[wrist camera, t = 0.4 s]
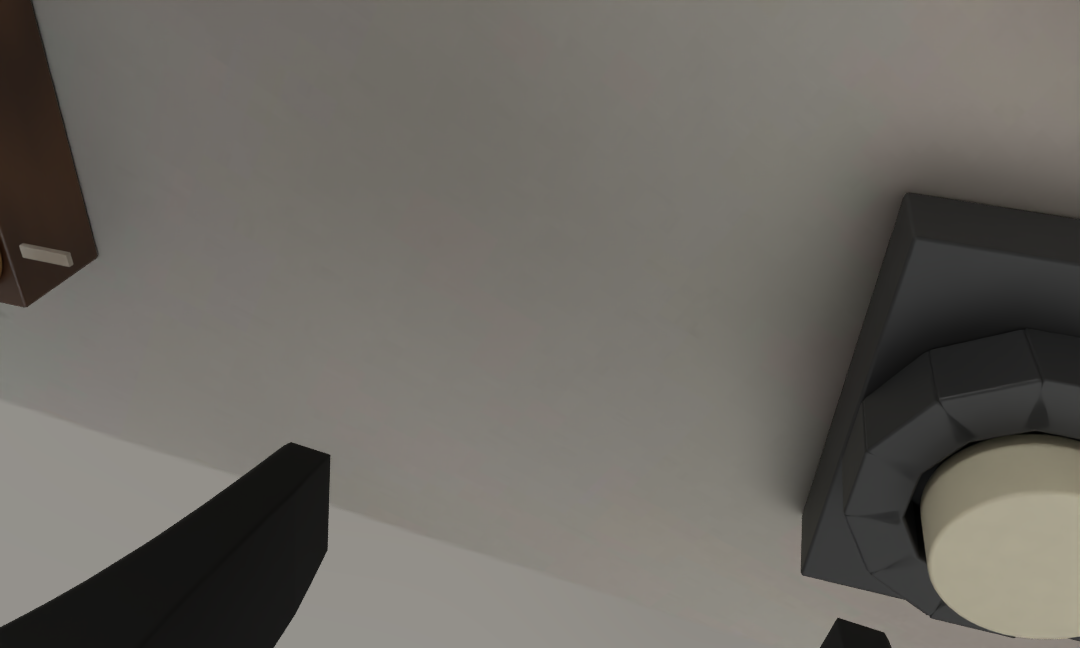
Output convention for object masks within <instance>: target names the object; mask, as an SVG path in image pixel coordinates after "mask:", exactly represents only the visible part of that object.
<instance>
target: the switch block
mask: <svg viewBox="0 0 1080 648" xmlns="http://www.w3.org/2000/svg"><path fill="white" fill-rule="evenodd" d="M1030 433H1034V434H1049V435H1055V436H1062V437H1066V438H1070V439H1074V440H1077V441H1080V219H1074V218H1067V217H1061V216H1055V215H1048V214H1042V213H1035V212H1029V211H1022V210H1016V209H1010V208H1003V207H997V206H990V205H984V204H977V203H971V202H964V201H958V200H952V199H945V198H939V197H932V196H926V195H919V194H913V193H906V194H905V195H904V197H903V201H902V204H901V207H900V210H899V213H898V216H897V219H896V223H895V226H894V229H893V232H892V235H891V238H890V241H889V245H888V248H887V251H886V254H885V257H884V260H883V263H882V267H881V270H880V273H879V276H878V279H877V282H876V285H875V289H874V292H873V295H872V298H871V301H870V304H869V307H868V311H867V314H866V317H865V320H864V323H863V326H862V329H861V333H860V336H859V339H858V342H857V345H856V348H855V352H854V355H853V358H852V361H851V364H850V367H849V370H848V374H847V377H846V380H845V383H844V386H843V389H842V392H841V396H840V399H839V402H838V405H837V408H836V411H835V414H834V418H833V421H832V424H831V427H830V430H829V433H828V436H827V440H826V443H825V446H824V449H823V452H822V455H821V458H820V462H819V465H818V468H817V471H816V474H815V477H814V480H813V484H812V487H811V490H810V493H809V496H808V499H807V502H806V506H805V509H804V512H803V515H802V544H801V574H802V575H803V576H807V577H812V578H816V579H820V580H824V581H828V582H833V583H837V584H841V585H845V586H850V587H854V588H858V589H862V590H866V591H871V592H875V593H879V594H883V595H887V596H892V597H896V598H900V599H904V600H906V601H908V602H909V603H911V604H912V605H913V606H915V607H916V608H918V609H919V610H921V611H922V612H923V613H925V614H926V615H930V618H932V619H936V620H941V621H945V622H949V623H953V624H957V625H961V626H966V627H970V628H974V629H978V630H982V631H986V632H990V633H995V634H999V635H1003V636H1007V637H1011V638H1015V637H1014V636H1009V635H1004V634H1001V633H997V632H994V631H991V630H988V629H985V628H983V627H980V626H978V625H976V624H974V623H972V622H970V621H968V620H966V619H965V618H963V617H962V616H960V615H959V614H957V613H956V612H955V611H954V610H952V609H951V608H950V607H949V606H948V605H947V604H946V603H945V602H944V601H943V600H942V599H941V597H940V596H939V595H938V593H937V592H936V590H935V589H934V587H933V585H932V583H931V580H930V577H929V573H928V568H927V561H926V553H925V545H924V538H923V530H922V523H921V515H920V502H921V496H922V493H923V490H924V487H925V486H926V484H927V482H928V480H929V478H930V477H931V475H932V474H933V473H934V471H935V470H936V469H937V468H938V467H939V466H940V465H941V464H942V463H943V462H944V461H946V460H947V459H948V458H950V457H951V456H952V455H954V454H955V453H957V452H959V451H961V450H962V449H964V448H966V447H969V446H971V445H973V444H975V443H978V442H981V441H984V440H987V439H992V438H997V437H1003V436H1009V435H1015V434H1030ZM1068 639H1073V640H1077V641H1080V636H1079V637H1073V638H1068Z"/></svg>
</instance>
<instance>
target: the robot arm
mask: <svg viewBox="0 0 1080 648" xmlns="http://www.w3.org/2000/svg"><path fill="white" fill-rule="evenodd" d="M329 483H330V455H329V454H326V453H323V452H320V451H317V450H314V449H310V448H307V447H304V446H301V445H298V444H295V443H292V442H290V443H288V444H286V445H284V446H283V447H281V448H280V449H279V450H277V451H276V452H275V453H273V454H272V455H271V456H269V457H268V458H267V459H265V460H264V461H263V462H261V463H260V464H259V465H257V466H256V467H255V468H253V469H252V470H250V471H249V472H248V473H246V474H245V475H244V476H242V477H241V478H240V479H238V480H237V481H236V482H234V483H233V484H231V485H230V486H229V487H227V488H226V489H225V490H223V491H222V492H220V493H219V494H218V495H216V496H215V497H213V498H212V499H211V500H210V501H208V502H206V503H205V504H204V505H202V506H201V507H199V508H198V509H197V510H195V511H193V512H192V513H190V514H189V515H187V516H186V517H184V518H183V519H182V520H180V521H179V522H177V523H176V524H174V525H173V526H171V527H170V528H168V529H167V530H166V531H164V532H162V533H161V534H160V535H158V536H157V537H155V538H154V539H152V540H150V541H149V542H147V543H146V544H144V545H143V546H141V547H139V548H138V549H136V550H135V551H133V552H132V553H130V554H128V555H127V556H125V557H123V558H122V559H120V560H119V561H117V562H115V563H114V564H112V565H111V566H109V567H108V568H106V569H104V570H102V571H101V572H99V573H98V574H96V575H94V576H93V577H91V578H89V579H88V580H86V581H84V582H83V583H81V584H79V585H77V586H76V587H74V588H72V589H70V590H69V591H67V592H65V593H63V594H62V595H60V596H58V597H56V598H55V599H53V600H51V601H49V602H47V603H45V604H44V605H42V606H40V607H38V608H36V609H34V610H32V611H30V612H29V613H27V614H25V615H23V616H21V617H19V618H17V619H15V620H14V621H12V622H10V623H8V624H6V625H4V626H2V627H0V648H274V646H275V645H276V643H277V642H278V640H279V639H280V637H281V635H282V634H283V632H284V631H285V629H286V628H287V626H288V625H289V623H290V621H291V620H292V618H293V617H294V615H295V614H296V612H297V610H298V608H299V605H300V604H301V602H302V600H303V598H304V596H305V594H306V592H307V590H308V588H309V586H310V584H311V582H312V580H313V578H314V576H315V574H316V572H317V570H318V568H319V566H320V564H321V562H322V560H323V558H324V556H325V554H326V552H327V547H328V515H329ZM820 648H891V645H890V642H889V640H888V638H887V637H886V635H885V633H884V632H881V631H877V630H874V629H871V628H868V627H865V626H862V625H859V624H856V623H853V622H849V621H846V620H843V619H840V618H837V620H836V621H835V623H834V625H833V626H832V628H831V630H830V632H829V633H828V635H827V637H826V638H825V640H824V642H823V643H822V645H821V647H820Z"/></svg>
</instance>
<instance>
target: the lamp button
mask: <svg viewBox="0 0 1080 648" xmlns="http://www.w3.org/2000/svg"><path fill="white" fill-rule="evenodd" d="M920 515H921V523H922V530H923V538H924V545H925V553H926V561H927V568H928V573H929V577H930V580H931V583H932V585H933V587H934V589H935V590H936V592H937V593H938V595H939V596H940V597H941V599H942V600H943V601H944V602H945V603H946V604H947V605H948V606H949V607H950V608H951V609H952V610H954V611H955V612H956V613H957V614H959V615H960V616H962V617H963V618H965V619H966V620H968V621H970V622H972V623H974V624H976V625H978V626H980V627H983V628H985V629H988V630H991V631H994V632H997V633H1001V634H1004V635H1009V636H1014V637H1020V638H1029V639H1065V638H1073V637H1079V636H1080V441H1077V440H1074V439H1070V438H1066V437H1062V436H1055V435H1049V434H1034V433H1030V434H1015V435H1009V436H1003V437H997V438H992V439H987V440H984V441H981V442H978V443H975V444H973V445H971V446H969V447H966V448H964V449H962V450H961V451H959V452H957V453H955V454H954V455H952V456H951V457H950V458H948V459H947V460H946V461H944V462H943V463H942V464H941V465H940V466H939V467H938V468H937V469H936V470H935V471H934V473H933V474H932V475H931V477H930V478H929V480H928V482H927V484H926V486H925V487H924V490H923V493H922V496H921V502H920Z"/></svg>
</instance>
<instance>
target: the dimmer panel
mask: <svg viewBox="0 0 1080 648" xmlns="http://www.w3.org/2000/svg"><path fill="white" fill-rule="evenodd" d="M0 251H1V256H2V273H1V276H0V302H2V303H6V304H11V305H16V306H20V307H28V306H29V305H31V304H32V303H34V302H35V301H36V300H38V299H39V298H41V297H42V296H43V295H45V294H46V293H48V292H49V291H51V290H52V289H53V288H55V287H56V286H58V285H59V284H61V283H62V282H63V281H65V280H66V279H68V278H69V277H70V276H72V275H73V274H75V273H76V272H78V271H79V270H80V269H82V268H83V267H85V266H86V265H88V264H89V263H90V262H92V261H93V260H95V259H96V258H97V257H98V254H97V250H96V247H95V243H94V239H93V235H92V231H91V228H90V224H89V220H88V216H87V212H86V208H85V205H84V201H83V197H82V193H81V189H80V186H79V182H78V178H77V174H76V170H75V167H74V163H73V159H72V155H71V151H70V147H69V144H68V140H67V136H66V132H65V128H64V125H63V121H62V117H61V113H60V109H59V106H58V102H57V98H56V94H55V90H54V86H53V83H52V79H51V75H50V71H49V67H48V64H47V60H46V56H45V52H44V48H43V45H42V41H41V37H40V33H39V29H38V26H37V22H36V18H35V14H34V10H33V6H32V3H31V0H0Z"/></svg>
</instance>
